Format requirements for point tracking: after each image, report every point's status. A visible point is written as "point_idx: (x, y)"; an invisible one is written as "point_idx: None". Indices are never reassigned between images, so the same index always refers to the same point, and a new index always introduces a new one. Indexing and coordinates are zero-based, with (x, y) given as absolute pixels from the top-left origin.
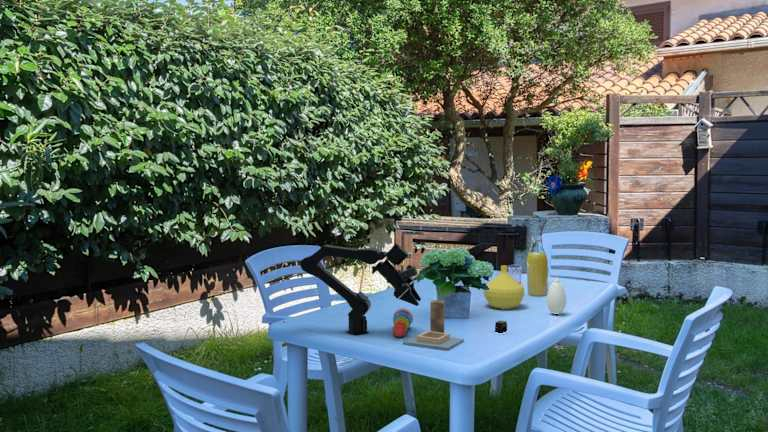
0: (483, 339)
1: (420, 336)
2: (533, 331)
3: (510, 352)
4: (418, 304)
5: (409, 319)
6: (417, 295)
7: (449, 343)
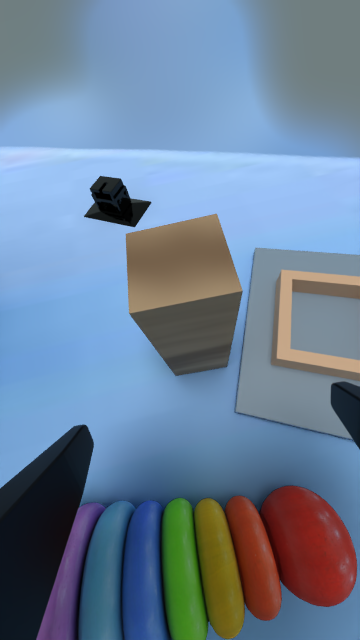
0: None
1: None
2: (105, 166)
3: (304, 156)
4: (344, 385)
5: (125, 515)
6: (50, 479)
7: (336, 268)
